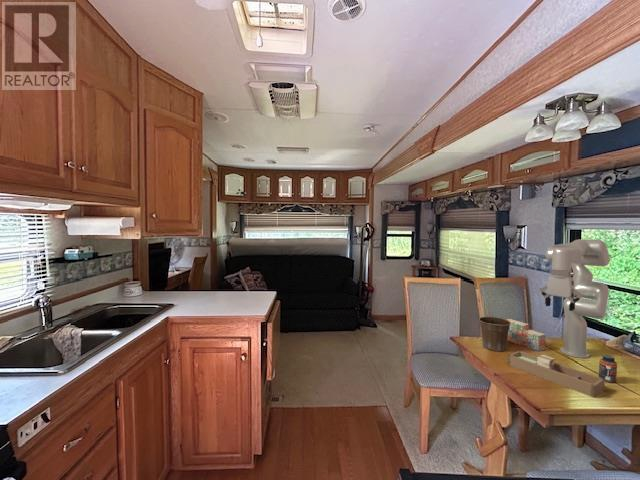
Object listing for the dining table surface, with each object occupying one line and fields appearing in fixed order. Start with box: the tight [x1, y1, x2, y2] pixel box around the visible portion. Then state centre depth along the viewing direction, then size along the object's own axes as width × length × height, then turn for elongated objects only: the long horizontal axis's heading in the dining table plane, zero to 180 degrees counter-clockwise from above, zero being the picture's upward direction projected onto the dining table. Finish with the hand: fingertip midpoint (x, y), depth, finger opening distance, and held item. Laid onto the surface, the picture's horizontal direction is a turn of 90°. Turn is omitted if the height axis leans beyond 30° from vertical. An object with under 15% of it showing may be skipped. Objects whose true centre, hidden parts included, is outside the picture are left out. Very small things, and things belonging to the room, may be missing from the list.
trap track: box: [507, 350, 606, 398], centre depth 143 cm, size 11×34×5 cm, turn 31°
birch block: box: [537, 354, 555, 370], centre depth 145 cm, size 5×5×5 cm
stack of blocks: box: [506, 318, 546, 352], centre depth 181 cm, size 21×6×12 cm, turn 23°
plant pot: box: [478, 316, 511, 352], centre depth 176 cm, size 16×16×16 cm
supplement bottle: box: [598, 354, 618, 384], centre depth 139 cm, size 6×6×11 cm
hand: (559, 308), depth 147 cm, fingers open, 9 cm apart
